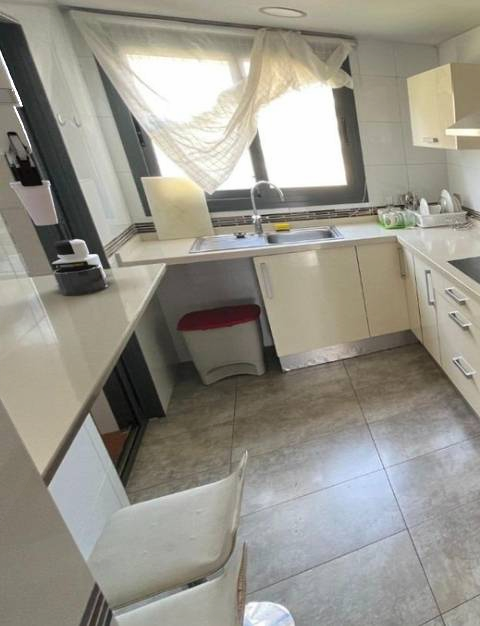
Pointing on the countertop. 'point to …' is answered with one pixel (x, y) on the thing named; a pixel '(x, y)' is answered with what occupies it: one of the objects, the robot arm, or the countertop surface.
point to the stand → (80, 279)
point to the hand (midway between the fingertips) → (30, 184)
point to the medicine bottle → (74, 254)
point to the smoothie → (37, 202)
